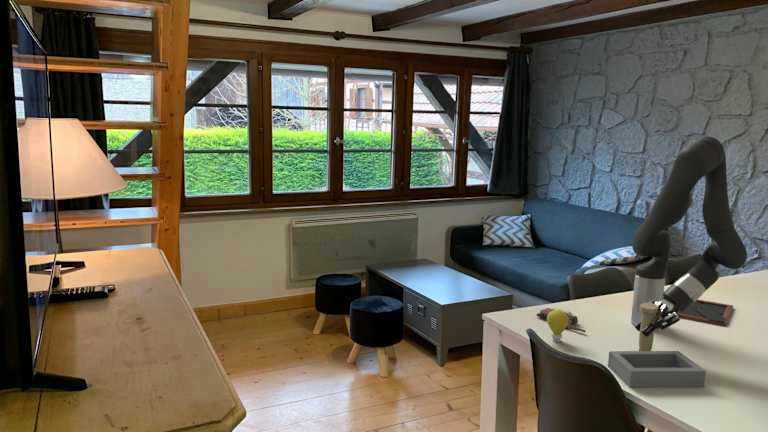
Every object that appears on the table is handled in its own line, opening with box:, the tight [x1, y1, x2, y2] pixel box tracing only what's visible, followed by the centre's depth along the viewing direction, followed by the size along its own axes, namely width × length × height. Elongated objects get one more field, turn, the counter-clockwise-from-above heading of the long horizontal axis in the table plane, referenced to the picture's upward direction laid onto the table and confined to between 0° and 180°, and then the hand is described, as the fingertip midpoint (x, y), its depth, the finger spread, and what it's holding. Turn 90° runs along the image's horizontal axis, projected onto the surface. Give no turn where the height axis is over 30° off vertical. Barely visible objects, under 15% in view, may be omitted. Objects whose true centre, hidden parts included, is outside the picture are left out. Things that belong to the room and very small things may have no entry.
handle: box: [638, 303, 659, 351], centre depth 167 cm, size 5×6×15 cm
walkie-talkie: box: [536, 307, 586, 333], centre depth 193 cm, size 9×4×20 cm
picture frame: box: [677, 299, 734, 327], centre depth 208 cm, size 20×2×25 cm
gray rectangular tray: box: [607, 350, 707, 388], centre depth 153 cm, size 20×13×4 cm, turn 92°
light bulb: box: [546, 309, 569, 343], centre depth 177 cm, size 7×7×10 cm
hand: (640, 331), depth 167 cm, fingers closed on handle, 3 cm apart
